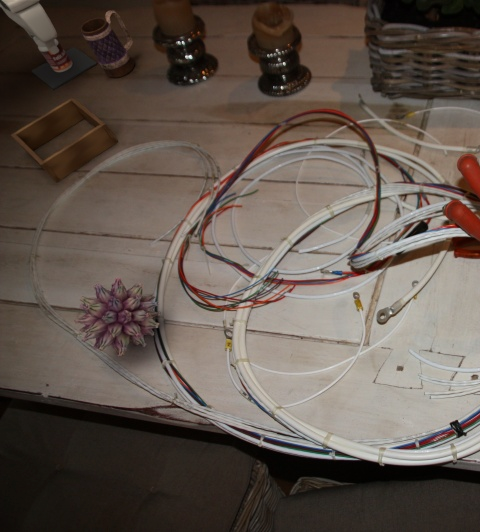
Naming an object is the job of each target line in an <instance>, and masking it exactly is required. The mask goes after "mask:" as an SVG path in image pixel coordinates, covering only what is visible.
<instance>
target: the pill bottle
mask: <svg viewBox="0 0 480 532" xmlns="http://www.w3.org/2000/svg"><path fill="white" fill-rule="evenodd" d="M32 40H33V41H34V43H35V44H36V46H37V49H38V51H39V52H40V54H41V55H42V56H43V58H44V59H45V60H46V62H48V63H49V64H50V66H51V67H52V68H53V70H54V71H56V72H64V71H66V70H68V69H69V68H71V66H72V64H73V63H72V61H71V59H70V58H69V56H68V55H67V54H66V52H65V51H66V50H65V49H64V48H63V46H62V44H61V43H60V42H59V40H58V39H57V38H55V39H54V42H55V44H56V46H57V48H58V49H59V52H58V53H56V54H52V53H51V52H49V50H48V49H47V47H46V45H45V44H44V43H43V42H41V41H40V40H39V39H37V38H36V37H35V36H34V38H33V39H32Z"/></svg>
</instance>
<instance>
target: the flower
mask: <svg viewBox="0 0 480 532" xmlns="http://www.w3.org/2000/svg"><path fill="white" fill-rule="evenodd" d="M144 287H145V285H144V284H143V283H141V282H140V283H134V285H133V286H132V287H130V288H128V289H127V288H126V286H125V285H124V283H123V282H122V278H121V277H117V278H115V279H114V283H112V284H111V289H110V290H109V289H108V288H105V287H104V286H103V285H102V284H100V283H98V284H96V285H94V286H93V289H94V290H95V295H96V297H86V296H83V295H82V296H81V297H80V299H79V301H80V302H81V303H80V305H79V309H82V311H84V313H85V314H84V315H82V316H81V317H79V318H75V319H73V322H74V323H75V324H82V325H84V326H83V327H81V328H79V332H80V333H82V334H83V333H86V334H85V335H84V336H83V337H82V338H81V341H82V342H84V343H85V342H88V340H89V341H90V340H94V339H95V342H94V344H93V346H92V347H93V348H94V350H98V351H100V352H103V351H104V350H105V348H108V347H109V346H111V347H112V348H113V349H114V350H115V351H116V355H117V357H120V356H121V357H123V356H125V352H126V351H127V350H128V349H127V348H128V346H129V344H130V342H131V343H133V344H134V345H135V346H138V345H140V346H141V347H143V348H144V347H145V348H146V347H147V345H148V343H147V342H146V341H145V336H147V335H149V336H151V337H153V336H155V334H154V333H155V332H154V331H153V329H158V328H159V326H160V323H159V322H157V321H155V320H154V318H156V317H159V316H160V315H161V312H160V311H154V309H155V308H156V307H158V306H159V301H153V300H154V299H155V298H156V295H155V293H151V294H150V295H144V291H143V289H144Z"/></svg>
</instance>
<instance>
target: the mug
mask: <svg viewBox="0 0 480 532" xmlns="http://www.w3.org/2000/svg"><path fill="white" fill-rule="evenodd" d="M112 17H114V18H115V19H116V21H117V23H118V25H119V27H120V29H121V31H122V32H123V34H124V36H125V38H126V44H125V45H123V44H122V42H121V40H120V39H119V37H118V36H117V34H116V33H115V31H114V30H113V28H112V26H111V24H112ZM80 32H81V35H82V36H83V38H84V40H85V41H86V43H87V44H88V46H89V48H90V49H91V51H92V53H93V54H94V56H95V57H96V61H97V63H98V64H99V65H100V68H102V69H103V71H104V72H105V74H106V76H108V77H110V78H113V79H114V78H120V77H121V78H122V77H124V76H126V75H128V74H129V73H131V72H132V71H133V69H134V68H135V62H134V61H133V59H132V57H131V56H130V53H129V52H128V51H129V50H130V49H131V47H132V45H133V39H132V36H131V35H130V32H129V31H128V29H127V28H126V26H125V24H124V21H123V19H122V17H121V16H120V15H119V13H118V12H117V11H115V10H107V11H106V12H105V15H104V17H94V18H91V19H88V20H86V21H84V23H83V24H82V25H81V26H80Z"/></svg>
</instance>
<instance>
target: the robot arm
mask: <svg viewBox="0 0 480 532" xmlns="http://www.w3.org/2000/svg"><path fill="white" fill-rule="evenodd" d="M40 1H41V0H0V8H1V9H2V10H3V12H4V13H5V14H6V16H7V17H8V18H9V19H11V20H12V21H13V22H15V24H17V25H18V26H20V27H21V28H23V30H24V31H25V32H26V33H27V34H28V36H29V37H30V38H31V39H32V40H33V38H34V36H35V37H36V38H37V39H39V40H40V41H41V42H43V43H44V44H45V45H46V47H47V49H48V50H49V52H51V53H52V54H56V53H58V52H59V49H58V48H57V46H56V44H55V42H54V39H57V38H58V33H57V30H56V28H55V26H54V24H53V23H52V21H51V19H50V18H49V16H48V14H47V12H46V11H45V9H44V7H43V6H42V5H41V3H40Z"/></svg>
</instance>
